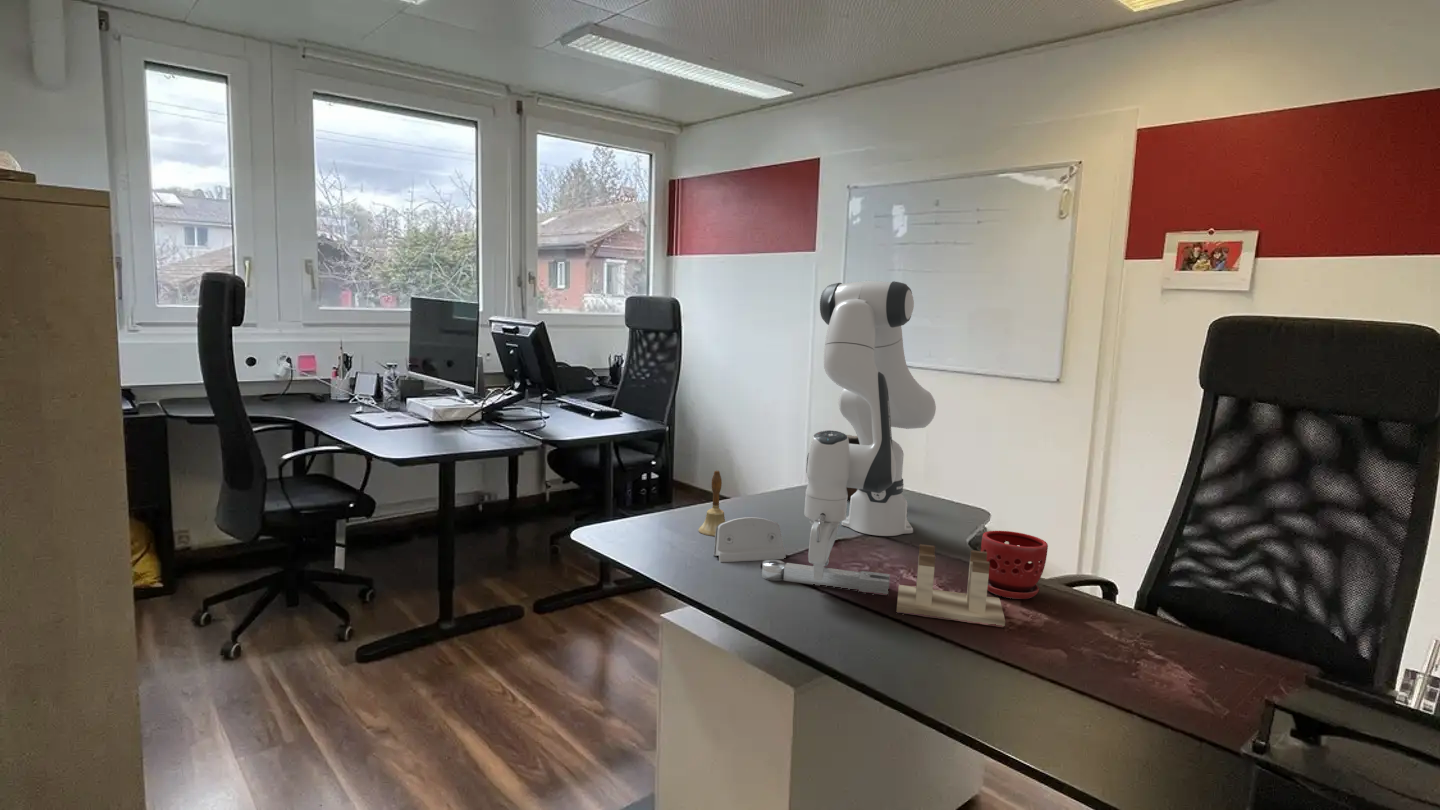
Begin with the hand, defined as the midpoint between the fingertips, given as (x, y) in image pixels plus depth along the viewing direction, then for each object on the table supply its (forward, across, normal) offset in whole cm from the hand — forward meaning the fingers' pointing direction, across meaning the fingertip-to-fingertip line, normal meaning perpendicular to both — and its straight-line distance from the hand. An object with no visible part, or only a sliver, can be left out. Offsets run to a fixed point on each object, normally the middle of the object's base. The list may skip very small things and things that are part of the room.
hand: (821, 571), depth 165 cm
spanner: (+3, 0, 0) cm, 3 cm away
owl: (+2, +78, 0) cm, 78 cm away
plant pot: (+3, +10, -39) cm, 41 cm away
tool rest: (+3, -5, -26) cm, 27 cm away
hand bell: (+3, +27, +31) cm, 41 cm away
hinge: (+3, +12, +19) cm, 23 cm away
